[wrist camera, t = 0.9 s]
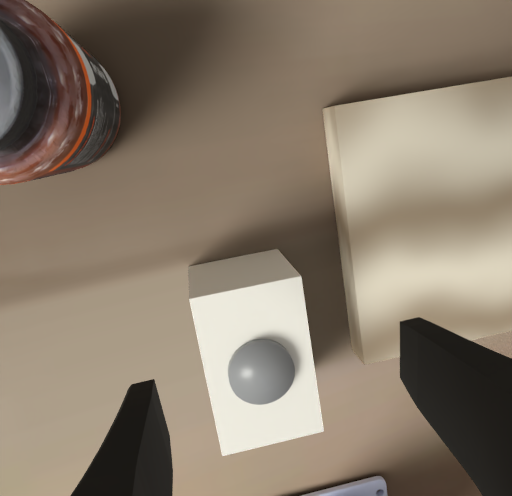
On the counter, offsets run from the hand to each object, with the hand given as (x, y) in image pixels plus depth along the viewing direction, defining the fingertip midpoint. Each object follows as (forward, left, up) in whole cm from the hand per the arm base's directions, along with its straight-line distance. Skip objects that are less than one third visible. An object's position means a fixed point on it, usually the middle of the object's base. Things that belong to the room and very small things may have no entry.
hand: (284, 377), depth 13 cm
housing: (-4, 0, -13) cm, 13 cm away
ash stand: (0, -13, -13) cm, 18 cm away
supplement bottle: (+9, +7, -13) cm, 18 cm away
